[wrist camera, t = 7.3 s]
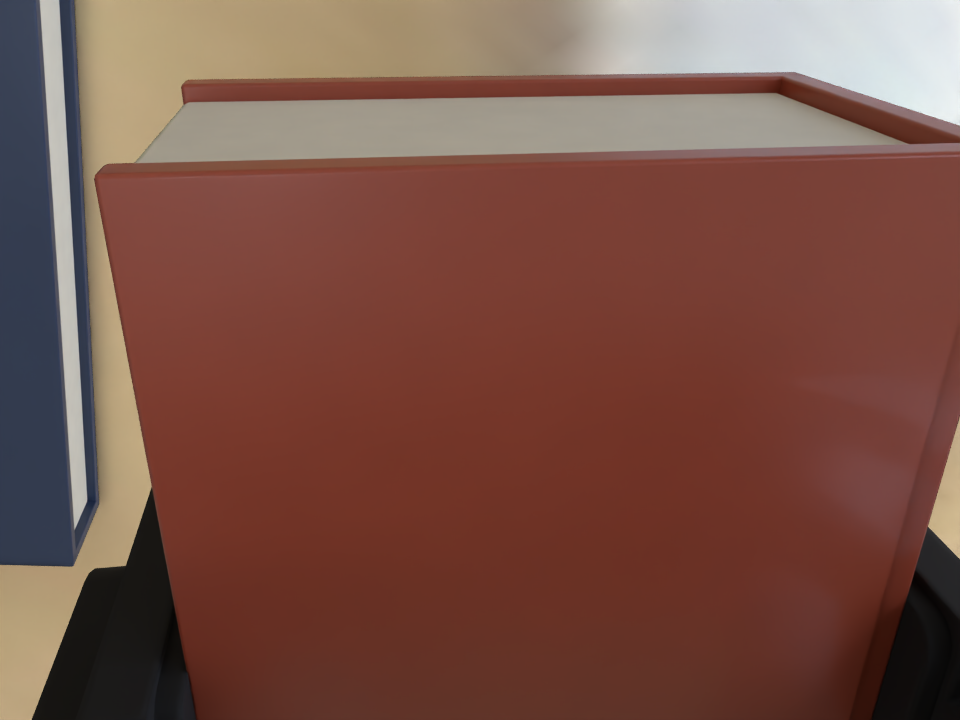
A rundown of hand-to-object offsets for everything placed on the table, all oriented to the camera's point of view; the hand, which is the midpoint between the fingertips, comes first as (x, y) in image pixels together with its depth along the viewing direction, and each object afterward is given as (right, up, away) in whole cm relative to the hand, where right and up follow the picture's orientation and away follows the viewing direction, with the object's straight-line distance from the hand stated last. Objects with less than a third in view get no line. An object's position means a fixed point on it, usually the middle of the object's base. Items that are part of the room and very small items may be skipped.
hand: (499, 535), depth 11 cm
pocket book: (0, 0, 0) cm, 0 cm away
